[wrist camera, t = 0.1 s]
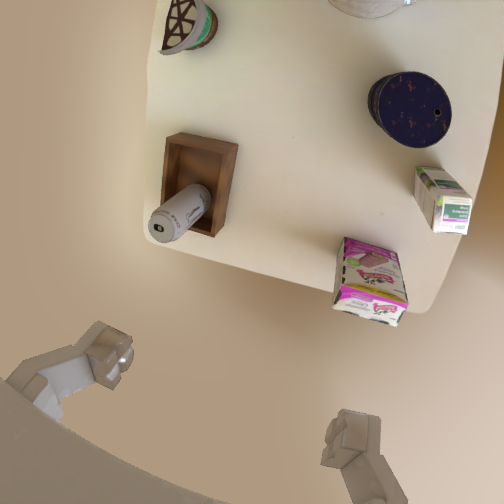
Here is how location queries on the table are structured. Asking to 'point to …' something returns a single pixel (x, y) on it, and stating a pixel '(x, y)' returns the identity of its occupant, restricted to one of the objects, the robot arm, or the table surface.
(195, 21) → the food container
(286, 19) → the table surface
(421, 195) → the syrup box
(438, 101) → the blue barrel
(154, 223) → the energy drink can
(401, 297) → the candy bar box
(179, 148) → the wooden tray
